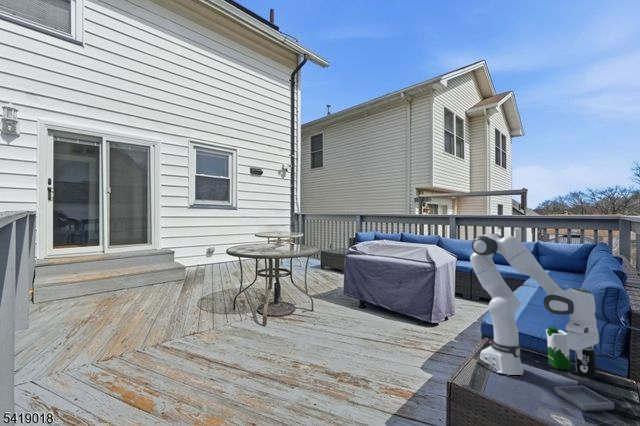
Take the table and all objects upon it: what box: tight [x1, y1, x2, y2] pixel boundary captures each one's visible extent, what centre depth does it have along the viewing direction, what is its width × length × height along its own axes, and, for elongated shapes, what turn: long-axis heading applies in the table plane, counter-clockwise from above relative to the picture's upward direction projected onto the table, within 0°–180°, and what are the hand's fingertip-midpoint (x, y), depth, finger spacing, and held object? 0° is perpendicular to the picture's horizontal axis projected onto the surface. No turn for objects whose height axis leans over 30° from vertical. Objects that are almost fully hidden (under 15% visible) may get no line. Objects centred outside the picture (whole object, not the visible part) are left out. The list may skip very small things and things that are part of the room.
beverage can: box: [574, 347, 597, 379], centre depth 132 cm, size 7×7×12 cm
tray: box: [554, 385, 616, 412], centre depth 128 cm, size 14×14×3 cm
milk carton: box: [545, 326, 572, 370], centre depth 160 cm, size 9×9×20 cm
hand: (584, 356), depth 132 cm, fingers closed on beverage can, 7 cm apart
